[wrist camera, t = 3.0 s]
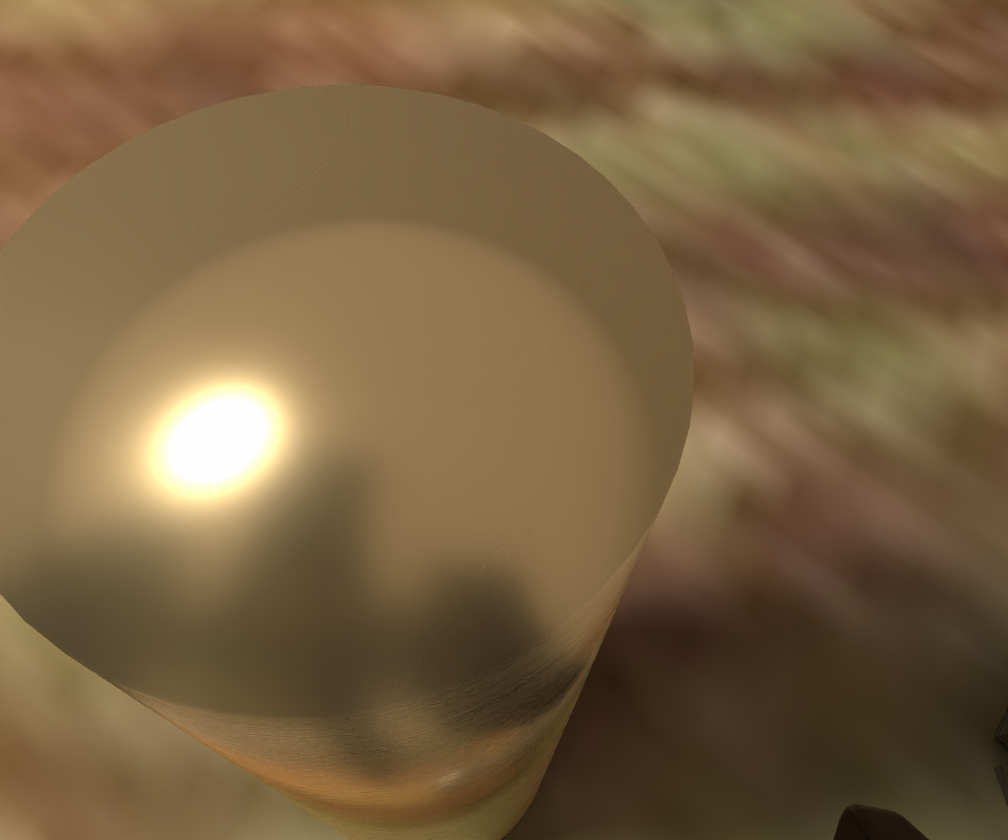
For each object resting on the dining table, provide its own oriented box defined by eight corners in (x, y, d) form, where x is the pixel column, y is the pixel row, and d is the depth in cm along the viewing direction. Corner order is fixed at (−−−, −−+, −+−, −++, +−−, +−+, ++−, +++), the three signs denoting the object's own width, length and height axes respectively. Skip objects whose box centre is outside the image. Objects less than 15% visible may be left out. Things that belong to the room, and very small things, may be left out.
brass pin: (565, 849, 16) (782, 659, 5) (313, 884, 15) (-137, 772, 4) (530, 607, 18) (619, 64, 7) (308, 633, 18) (-1, 107, 6)
